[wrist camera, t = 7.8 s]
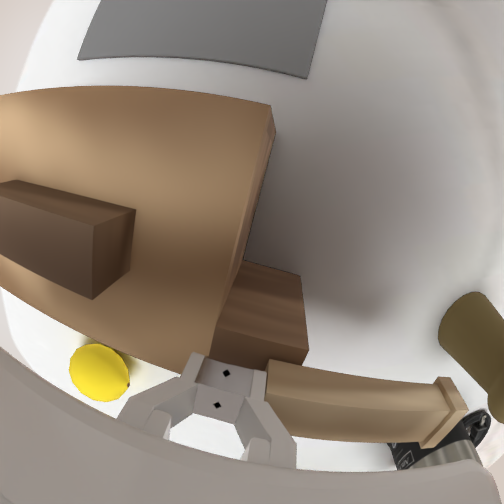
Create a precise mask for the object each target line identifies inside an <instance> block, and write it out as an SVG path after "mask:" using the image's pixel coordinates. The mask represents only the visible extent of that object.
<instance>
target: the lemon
mask: <svg viewBox="0 0 504 504" xmlns="http://www.w3.org/2000/svg"><path fill="white" fill-rule="evenodd" d="M69 373H70V376H71V379H72V382H73V383H74V385H75V386H76V387H77V388H78V390H79V391H80V392H81V393H82V394H84V395H86V396H87V397H89V398H91V399H92V400H96V401H103V402H109V401H113V400H116V399H119V398H120V397H121V396H122V395H123V394H124V393H125V391H126V390H127V389H128V387H129V386H130V380H129V372H128V368H127V366H126V365H125V363H124V361H123V359H122V358H121V357H120V356H119V355H118V354H117V353H116V352H115V351H114V350H113V349H112V348H109V347H106V346H104V345H101V344H86V345H84V346H82V347H80V348H78V349H76V351H75V353H74V354H73V356H72V357H71V358H70V366H69Z"/></svg>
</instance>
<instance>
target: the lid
mask: <svg viewBox="0 0 504 504" xmlns="http://www.w3.org/2000/svg"><path fill="white" fill-rule="evenodd" d="M271 113H272V111H271V106H270V105H267V104H262V103H258V102H253V101H248V100H243V99H238V98H233V97H227V96H221V95H215V94H208V93H201V92H194V91H186V90H177V89H166V88H154V87H138V86H75V87H59V88H47V89H38V90H30V91H23V92H16V93H10V94H5V95H0V286H1V287H2V288H4V289H5V290H7V291H8V292H10V293H11V294H13V295H14V296H16V297H18V298H19V299H21V300H22V301H24V302H26V303H27V304H29V305H30V306H32V307H34V308H36V309H37V310H39V311H41V312H42V313H44V314H46V315H48V316H49V317H51V318H53V319H55V320H57V321H58V322H60V323H62V324H64V325H66V326H68V327H70V328H72V329H74V330H76V331H78V332H80V333H82V334H84V335H86V336H88V337H90V338H92V339H94V340H96V341H98V342H101V343H103V344H105V345H107V346H109V347H112V348H114V349H116V350H118V351H121V352H123V353H126V354H128V355H130V356H133V357H135V358H138V359H140V360H143V361H145V362H148V363H151V364H153V365H156V366H159V367H162V368H164V369H167V370H170V371H173V372H176V373H179V374H182V372H183V370H184V368H185V366H186V364H187V362H188V359H189V357H190V355H191V353H192V352H196V353H199V354H202V355H204V356H208V357H209V352H210V348H211V343H212V339H213V334H214V330H215V326H216V323H217V321H218V319H219V316H220V314H221V311H222V306H223V302H224V298H225V294H226V290H227V286H228V281H229V277H230V273H231V269H232V265H233V261H234V257H235V253H236V249H237V244H238V240H239V236H240V232H241V228H242V224H243V220H244V216H245V212H246V208H247V204H248V201H249V197H250V193H251V189H252V185H253V181H254V177H255V173H256V169H257V165H258V162H259V158H260V154H261V150H262V146H263V143H264V139H265V135H266V131H267V127H268V124H269V120H270V116H271Z"/></svg>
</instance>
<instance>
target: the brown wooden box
mask: <svg viewBox="0 0 504 504" xmlns="http://www.w3.org/2000/svg"><path fill="white" fill-rule="evenodd" d="M275 134H276V130H275V125H274V120H273V115H272V113H271V116H270V120H269V124H268V127H267V131H266V135H265V139H264V143H263V146H262V150H261V154H260V158H259V162H258V165H257V169H256V173H255V177H254V181H253V185H252V189H251V193H250V197H249V201H248V204H247V208H246V212H245V216H244V220H243V224H242V228H241V232H240V236H239V240H238V244H237V249H236V253H235V257H234V261H233V265H232V269H231V273H230V277H229V281H228V286H227V290H226V294H225V298H224V302H223V306H222V311H221V314H220V316H219V319H218V321H217V323H216V326H215V330H214V334H213V339H212V343H211V348H210V352H209V357H212V358H215V359H218V360H221V361H224V362H228V363H231V364H235V365H239V366H243V367H247V368H251V369H253V370H254V369H256V370H260V371H265V369H266V366H267V364H268V361H269V359H273V360H277V361H282V362H286V363H291V364H295V365H300V366H302V364H303V362H304V360H305V358H306V356H307V353H308V351H309V345H308V336H307V327H306V318H305V310H304V302H303V294H302V286H301V278H300V276H299V275H295V274H292V273H288V272H284V271H281V270H277V269H273V268H270V267H266V266H262V265H259V264H255V263H251V262H248V261H244V260H243V257H244V253H245V249H246V245H247V241H248V237H249V233H250V229H251V225H252V222H253V218H254V214H255V210H256V206H257V202H258V199H259V195H260V191H261V187H262V183H263V179H264V176H265V172H266V168H267V164H268V160H269V157H270V153H271V149H272V145H273V142H274V138H275Z"/></svg>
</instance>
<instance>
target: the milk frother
mask: <svg viewBox="0 0 504 504" xmlns="http://www.w3.org/2000/svg"><path fill="white" fill-rule="evenodd" d="M490 424H491V417H490V415H489V414H488V413H486V412H479V413H476V414H473V415H471V416H469V417H467V418H466V419H465V420H463V421H462V419H461V420H460V421H459V422H458V423H457V424H456V425H455V426H454V427H453V429H452V430H451V431H450V432H449V433H448V434H447V435H446V436H445V437H444V438H443V439H442V440H441V441H440V442H439V443H438V444H437V445H436V446H435V447H434V448H424V449H421V447H420V445H419V442H400V443H387V444H388V446H389V447H390V449H391V451H392V455H393V458H394V461H395V464H396V467H397V470H406V469H415V468H423V467H430V466H436V465H442V464H447V463H452V462H457V461H461V460H466V459H473V460H475V461H476V462H478V463H479V464H481V465H482V462H481V460H480V458H479V456H478V453H477V451H476V449H475V448H476V447H477V446H478V445H479V444H480V443H481V441H482V440H483V438H484V437H485V435H486V434H487V432H488V430H489V427H490ZM469 425H472V427H471V432H470V435H468V432H467V430H466V428H467V427H468V426H469ZM482 466H483V465H482Z"/></svg>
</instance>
